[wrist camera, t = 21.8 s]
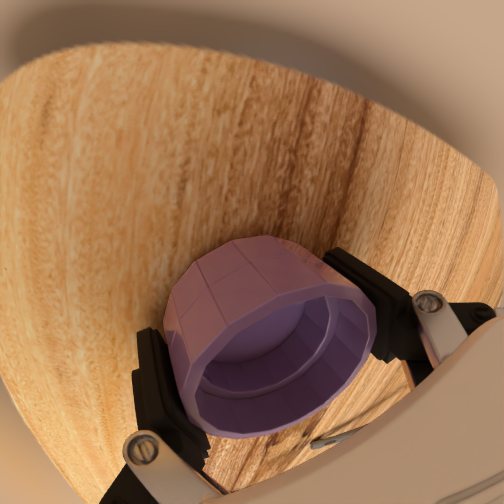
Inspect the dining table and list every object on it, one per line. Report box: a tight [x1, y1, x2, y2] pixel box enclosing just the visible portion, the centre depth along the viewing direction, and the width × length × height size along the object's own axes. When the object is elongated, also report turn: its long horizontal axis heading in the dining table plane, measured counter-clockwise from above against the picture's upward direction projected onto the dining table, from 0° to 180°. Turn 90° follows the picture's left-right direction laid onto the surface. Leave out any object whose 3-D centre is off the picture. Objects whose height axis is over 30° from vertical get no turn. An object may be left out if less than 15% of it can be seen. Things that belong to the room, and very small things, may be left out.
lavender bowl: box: [163, 235, 377, 439], centre depth 9 cm, size 7×7×4 cm
